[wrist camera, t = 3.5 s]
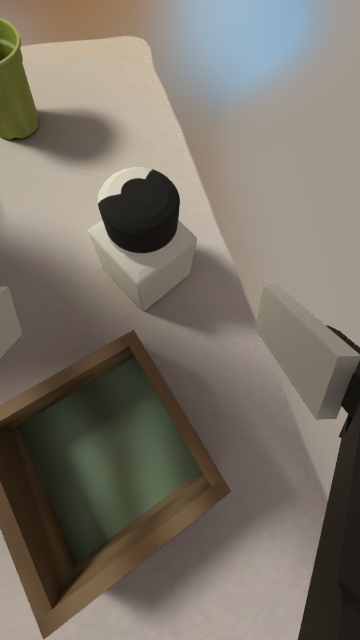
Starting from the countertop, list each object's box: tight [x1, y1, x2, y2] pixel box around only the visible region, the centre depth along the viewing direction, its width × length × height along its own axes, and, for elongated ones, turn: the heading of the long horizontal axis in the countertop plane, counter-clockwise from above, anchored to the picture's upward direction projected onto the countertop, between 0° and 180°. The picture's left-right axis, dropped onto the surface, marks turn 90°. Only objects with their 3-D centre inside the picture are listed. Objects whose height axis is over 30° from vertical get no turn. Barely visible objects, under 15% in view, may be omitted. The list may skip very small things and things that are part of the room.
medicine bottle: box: [88, 167, 197, 311], centre depth 25 cm, size 7×7×12 cm
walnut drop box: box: [0, 330, 231, 639], centre depth 22 cm, size 14×14×6 cm
